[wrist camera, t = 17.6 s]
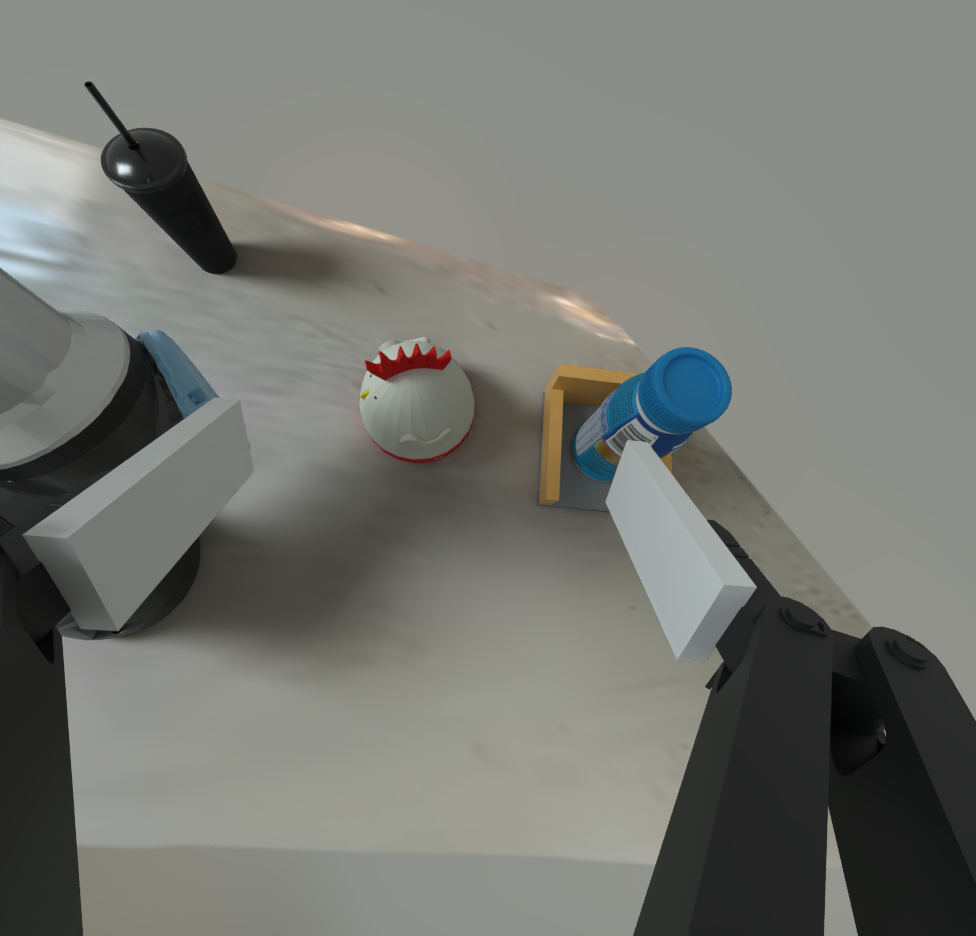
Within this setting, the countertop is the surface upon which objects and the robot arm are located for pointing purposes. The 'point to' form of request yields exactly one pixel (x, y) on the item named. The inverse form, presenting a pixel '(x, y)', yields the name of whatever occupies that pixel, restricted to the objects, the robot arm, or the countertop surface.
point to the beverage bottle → (654, 410)
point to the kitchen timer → (416, 401)
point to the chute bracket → (562, 415)
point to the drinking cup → (166, 189)
